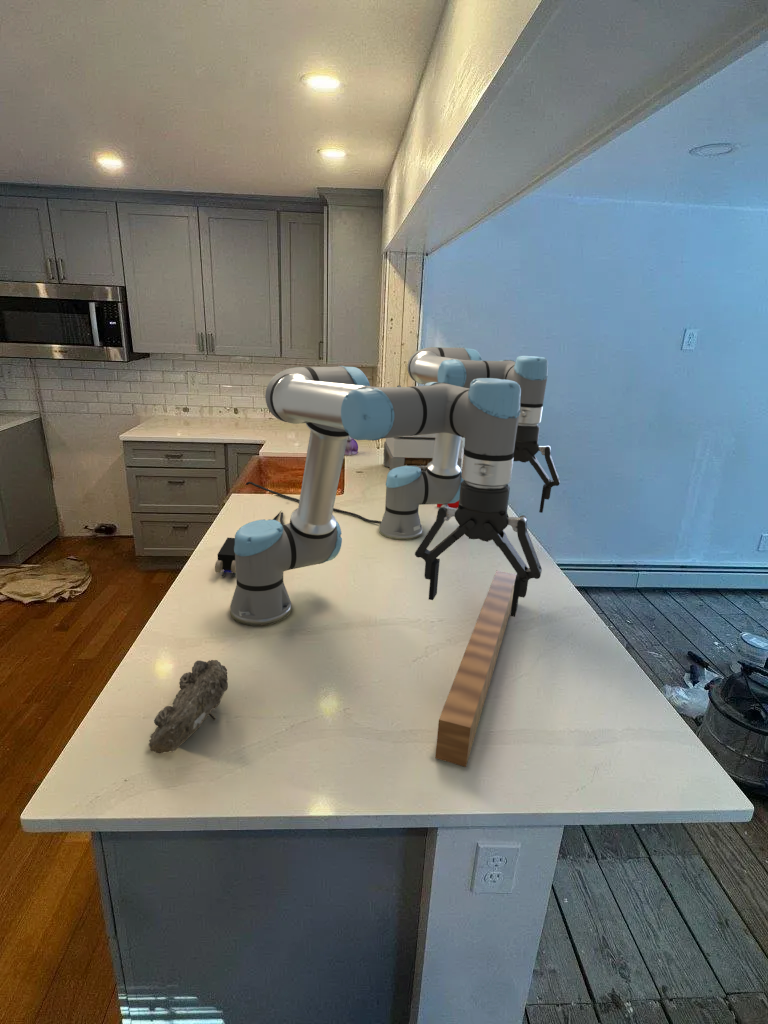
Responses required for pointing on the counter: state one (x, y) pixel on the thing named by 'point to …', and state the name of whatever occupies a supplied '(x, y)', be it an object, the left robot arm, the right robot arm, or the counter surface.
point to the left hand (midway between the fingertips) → (472, 604)
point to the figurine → (351, 447)
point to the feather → (276, 516)
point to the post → (475, 674)
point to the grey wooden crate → (411, 450)
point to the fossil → (189, 705)
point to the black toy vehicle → (226, 558)
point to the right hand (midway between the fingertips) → (513, 507)
